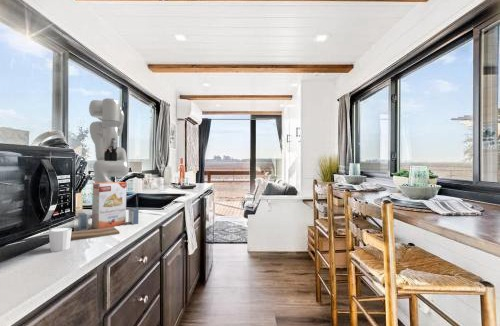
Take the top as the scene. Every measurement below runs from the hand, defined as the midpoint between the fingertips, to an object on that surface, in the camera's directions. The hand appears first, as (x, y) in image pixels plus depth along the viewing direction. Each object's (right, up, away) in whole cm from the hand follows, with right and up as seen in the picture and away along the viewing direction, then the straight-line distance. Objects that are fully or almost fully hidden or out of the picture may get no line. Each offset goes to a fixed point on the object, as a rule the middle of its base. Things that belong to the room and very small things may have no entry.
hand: (110, 160), depth 133 cm
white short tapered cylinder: (-1, -32, -34) cm, 47 cm away
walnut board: (0, -31, -15) cm, 35 cm away
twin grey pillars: (-1, -31, 0) cm, 31 cm away
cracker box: (-1, -31, 0) cm, 31 cm away
